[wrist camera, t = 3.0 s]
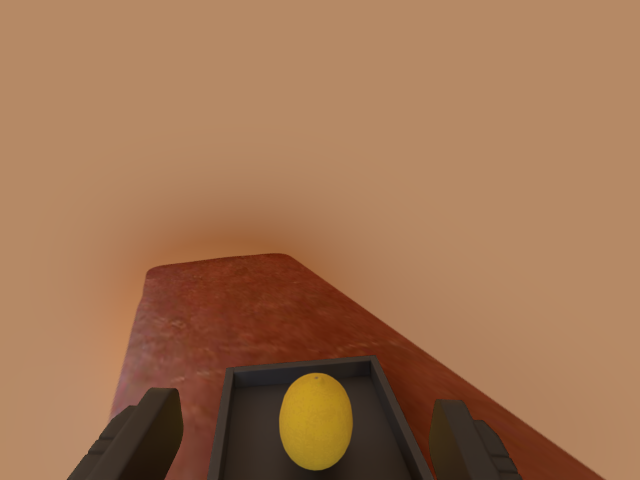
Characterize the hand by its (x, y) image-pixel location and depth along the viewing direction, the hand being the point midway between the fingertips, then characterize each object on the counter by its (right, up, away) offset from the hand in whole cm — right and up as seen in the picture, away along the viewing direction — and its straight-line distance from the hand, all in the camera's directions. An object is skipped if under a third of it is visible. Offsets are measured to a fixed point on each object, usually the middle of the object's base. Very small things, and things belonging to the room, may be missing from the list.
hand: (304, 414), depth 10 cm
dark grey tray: (0, -12, +18) cm, 21 cm away
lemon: (0, -12, +16) cm, 20 cm away
